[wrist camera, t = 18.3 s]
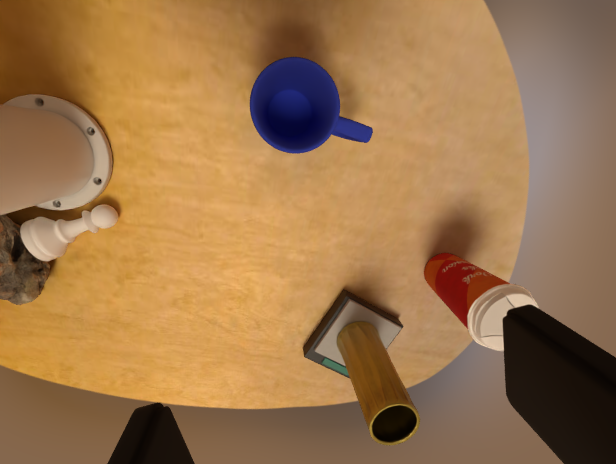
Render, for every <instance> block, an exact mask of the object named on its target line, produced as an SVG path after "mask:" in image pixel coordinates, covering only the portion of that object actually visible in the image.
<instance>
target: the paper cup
mask: <svg viewBox="0 0 616 464" xmlns="http://www.w3.org/2000/svg"><path fill="white" fill-rule="evenodd" d="M424 276H425V279H426V281H427V283H428V284H429V286H430V287H431V288H432V289H433V290H434V291H435V293H436V294H437V295H438V296H439V297H440V298H441V299H442V301H443V302H444V303H445V304H446V305H447V306H448V307H449V308H450V310H451V311H452V312H453V313H454V314H455V315H456V316H457V317H458V318H459V320H460V321H461V322H462V323H463V324H464V325H465V326H466V327H467V329H468V331H469V333H470V335H471V337H472V338H473V339H474V340H475V341H476V342H477V343H478V344H480V345H482V346H484V347H488V348H491V349H493V350H498V351H504V342H503V323H502V321H503V317H505V316H506V314H507V311H508V310H510V309H513V308H516V307H520V306H524V305H528V304H530V305H533V306H535V307H537V308H539V307H538V305H537V303H536V301H535V300H534V298H533V296H532V295H531V293H530V292H529V291H528V290H526V289H525V288H523V287H522V286H519V285H516V284H510V283H508V282H506V281H504V280H502V279H500V278H498V277H496V276H494V275H492V274H490V273H489V272H487V271H485V270H483V269H481V268H479V267H477V266H475V265H473V264H471V263H469V262H467V261H465V260H463V259H461V258H459V257H457V256H455V255H453V254H449V253H441V254H438V255H436V256H434V257H433V258H432V259H430V261H429V262H428V263H427V265H426V267H425V271H424Z"/></svg>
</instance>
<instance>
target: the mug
mask: <svg viewBox="0 0 616 464" xmlns="http://www.w3.org/2000/svg"><path fill="white" fill-rule="evenodd" d="M250 112H251V117H252V120H253V123H254V126H255V128H256V130H257V131H258V133H259V134H260V136H261V137H262V138H263V139H264V140H265V141H266V142H267V143H268V144H270V145H271V146H273V147H274V148H276V149H278V150H280V151H283V152H287V153H304V152H308V151H311V150H313V149H315V148H317V147H319V146H320V145H322V144H323V143H324V142H325V141H326V140H327V139H328V138H329V137H330V135H331V134H332V135H335V136H338V137H341V138H344V139H348V140H353V141H358V142H364V143H367V142H368V141H369V140H370V138H371V136H372V133H373V129H372V128H371V127H369V126H366V125H364V124H361V123H358V122H356V121H353V120H350V119H347V118H343V117H340V116H339V113H340V99H339V94H338V90H337V88H336V85H335V83H334V81H333V79H332V78H331V76H330V75H329V74H328V73H327V72H326V70H325V69H323V68H322V67H321V66H320V65H318V64H317V63H315V62H313V61H311V60H308V59H305V58H301V57H288V58H283V59H280V60H277V61H275V62H273V63H272V64H270V65H269V66H267V67H266V68H265V69H264V70H263V71H262V72H261V73H260V75H259V76H258V78H257V79H256V81H255V83H254V85H253V88H252V91H251V96H250Z"/></svg>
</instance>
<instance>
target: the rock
mask: <svg viewBox="0 0 616 464" xmlns="http://www.w3.org/2000/svg"><path fill="white" fill-rule="evenodd" d="M20 229H21V226H20V225H18V224H17V223H14V222H13V221H12V220H11V219H10V218H9V217H7V216H6V215H5V214H3V215H0V299H3V300H8V301H10V302H12V303H14V304H16V305H22V304H25V303H29V302H32V301H33V300H35V299H36V298H37V297H38V295H40V294H41V290H42V287H43V286H44V284H45V281H46V280H47V278H48V276H49V273H50V272H49V269H50V264H48V261H42V260H39V259H37V258H36V257H34V256H33V255H32V254H31V253H30V252H29V251H28V249H27V248H26V247H25V245H24V243H23V241H22V238H21V234H20Z"/></svg>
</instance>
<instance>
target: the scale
mask: <svg viewBox="0 0 616 464" xmlns="http://www.w3.org/2000/svg"><path fill="white" fill-rule="evenodd" d="M359 321H362V322H367V323H370V324H372V325H373V326H374V327H375V328H376V329H377V330H378V332H379V336H380V338H381V340H382V342H383V344H384V347H385V349H387V348H388V346H389V345H390V344H391V342H392V341H393V340H394V338H395V337H396V336H397V334H398V333H399V332H400V330H401V329H402V328H403V325H402V324H401V322H400V321H399V319H397V318H395V317H394V316H392V315H390V314H388V313H386V312H384V311H383V310H381V309H379V308H377V307H375V306H374V305H372V304H370V303H368V302H366V301H364V300H363V299H361V298H359V297H357V296H355V295H354V294H352V293H350V292H348V291H346V290H343V291H342V293H341V294H340V296H339V297H338V299H337V300H336V301H335V303H334V304H333V306H332V307H331V309H330V310H329V312H328V313H327V314H326V316H325V317H324V319H323V320H322V322H321V323H320V325H319V326H318V328H317V329H316V330H315V332H314V333H313V335H312V336H311V338H310V339H309V341H308V342H307V343H306V345H305V346H304V348H303V352H304V357H305V358H308V359H310V360H312V361H314V362H316V363H318V364H320V365H322V366H325V367H327V368H329V369H331V370H333V371H335V372H337V373H339V374H341V375H344V376H346V377H348V378H350V377H349V374H348V371H347V369H346V366H345V363H344V360H343V358H342V355H341V354H340V352H339V350H338V347H337V338H338V335H339V333H340V332H341V331H342V329H343V328H344V327H346V326H347V325H349V324H351V323H354V322H359Z"/></svg>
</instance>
